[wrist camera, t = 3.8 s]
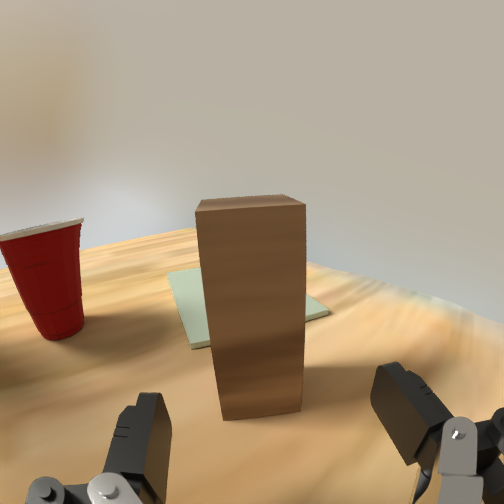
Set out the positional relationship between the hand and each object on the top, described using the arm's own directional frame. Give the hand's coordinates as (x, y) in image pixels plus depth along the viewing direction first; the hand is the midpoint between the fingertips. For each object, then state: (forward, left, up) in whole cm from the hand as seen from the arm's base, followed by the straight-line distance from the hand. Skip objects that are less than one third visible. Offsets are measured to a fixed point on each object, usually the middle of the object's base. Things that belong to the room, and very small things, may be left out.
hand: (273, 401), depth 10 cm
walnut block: (-5, +6, -7) cm, 10 cm away
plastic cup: (-28, +1, -7) cm, 29 cm away
